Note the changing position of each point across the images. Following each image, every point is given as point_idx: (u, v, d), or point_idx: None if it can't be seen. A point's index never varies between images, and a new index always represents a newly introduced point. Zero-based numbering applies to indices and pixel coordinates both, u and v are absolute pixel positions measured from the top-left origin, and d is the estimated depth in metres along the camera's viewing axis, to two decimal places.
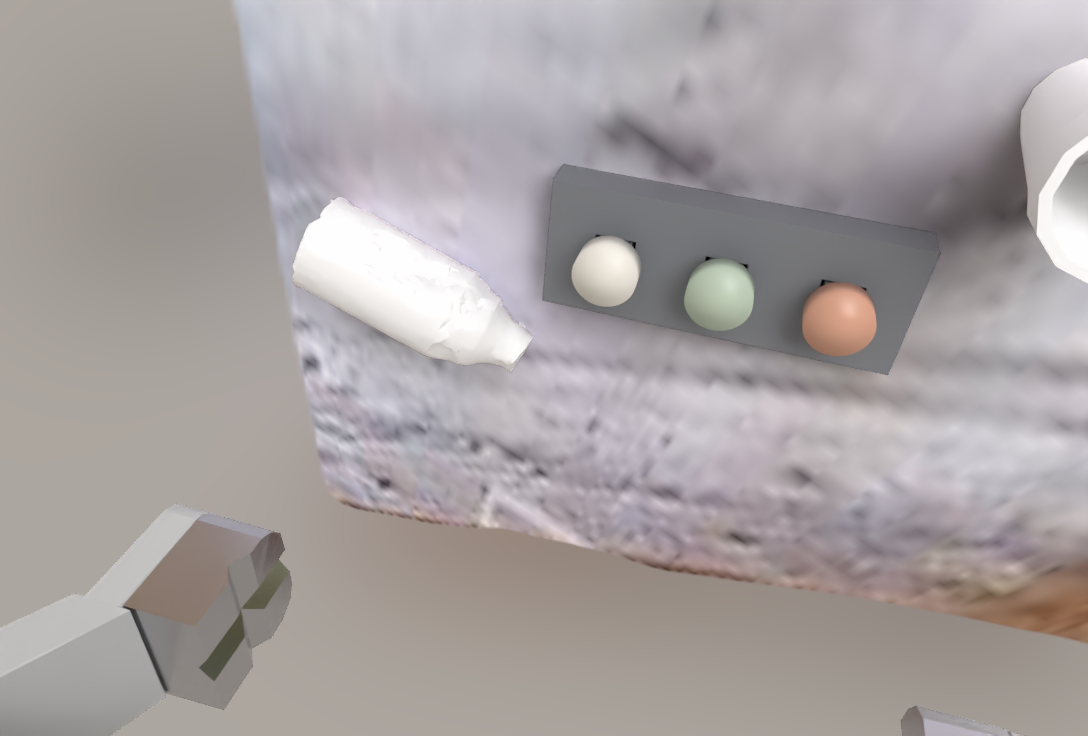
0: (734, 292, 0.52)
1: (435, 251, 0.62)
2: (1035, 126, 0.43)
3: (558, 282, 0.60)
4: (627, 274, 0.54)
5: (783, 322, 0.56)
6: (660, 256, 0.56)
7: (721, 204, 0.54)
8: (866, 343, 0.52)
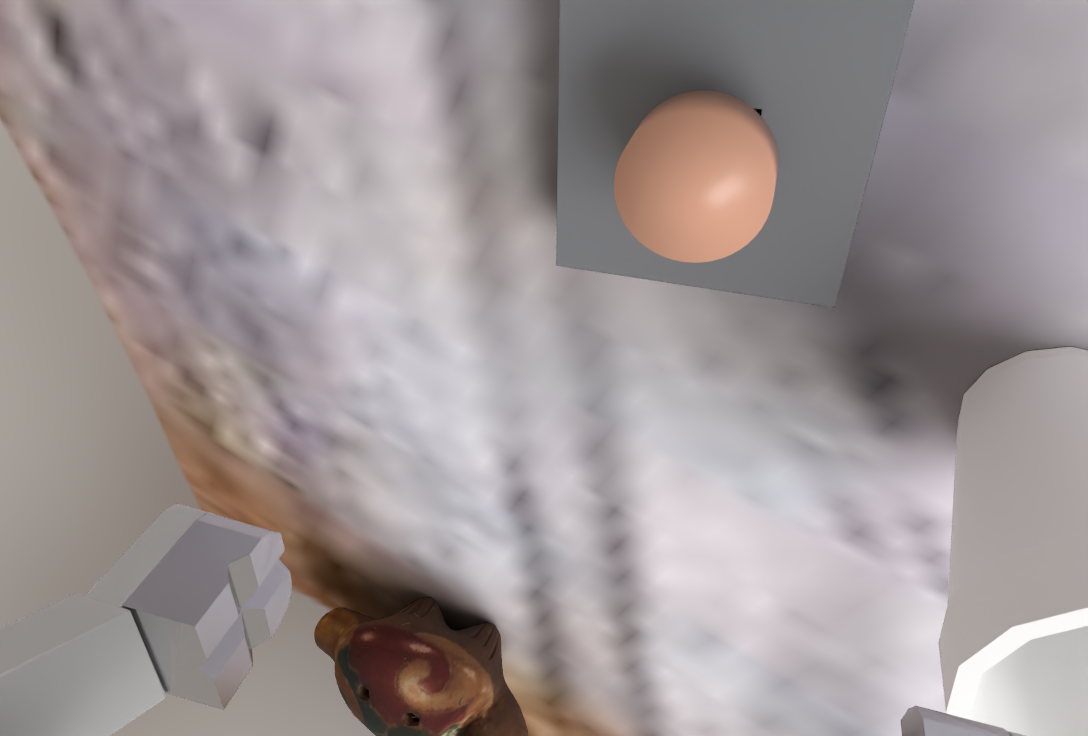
0: None
1: None
2: None
3: None
4: None
5: (638, 43, 0.24)
6: None
7: None
8: (658, 250, 0.24)
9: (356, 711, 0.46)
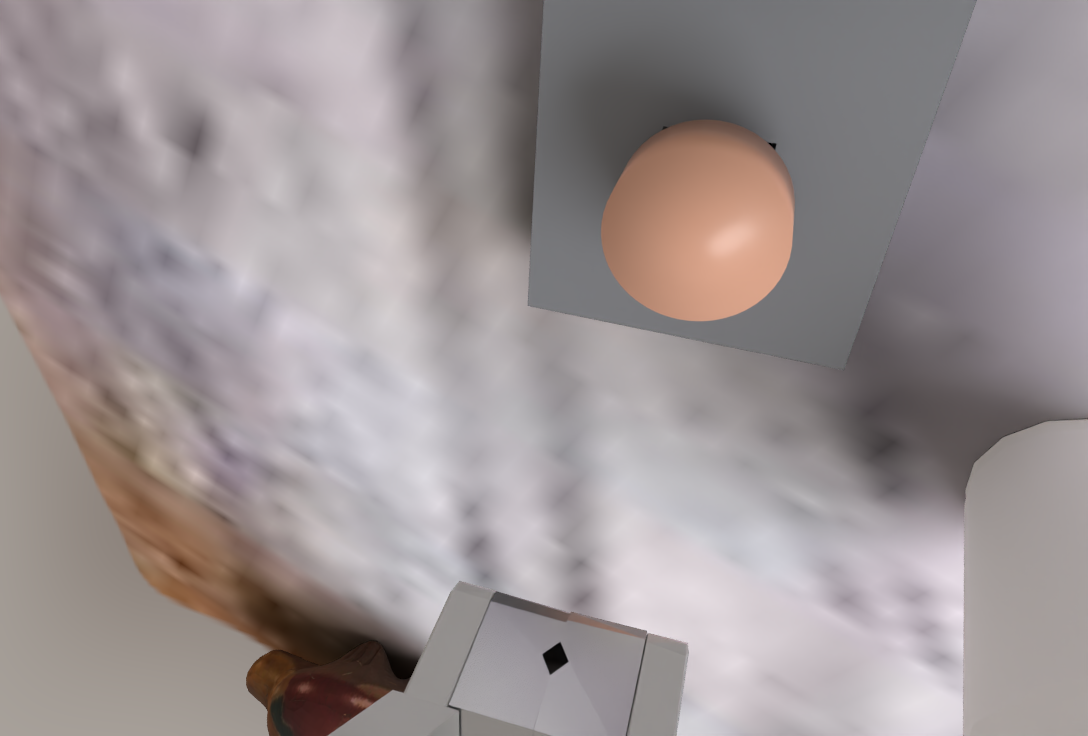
0: None
1: None
2: None
3: None
4: None
5: (635, 58, 0.20)
6: None
7: None
8: (650, 304, 0.20)
9: None
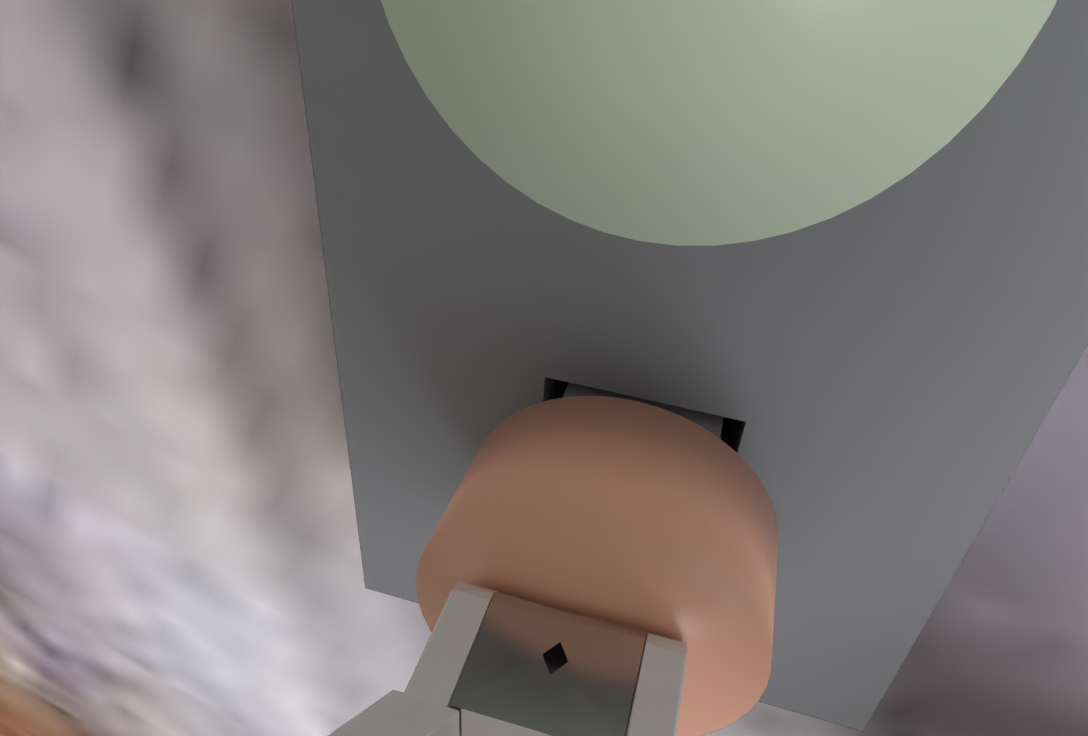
0: (807, 82, 0.05)
1: None
2: None
3: None
4: None
5: (484, 270, 0.11)
6: None
7: None
8: None
9: None
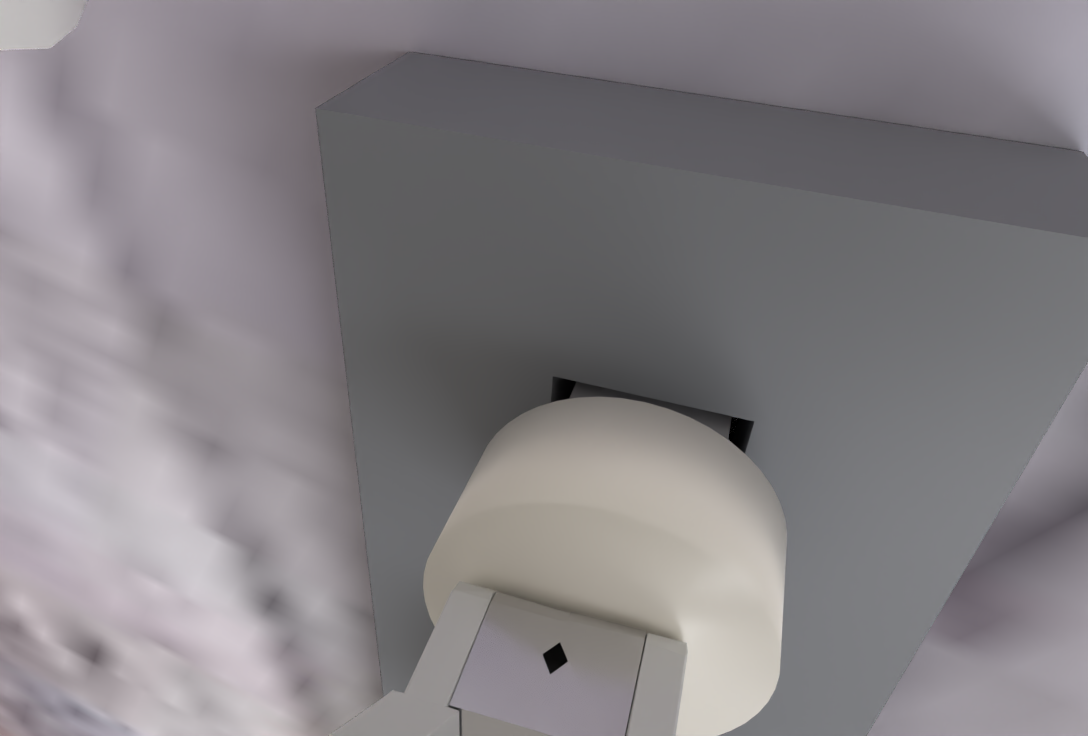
0: None
1: None
2: None
3: (449, 210, 0.11)
4: None
5: None
6: None
7: None
8: None
9: None
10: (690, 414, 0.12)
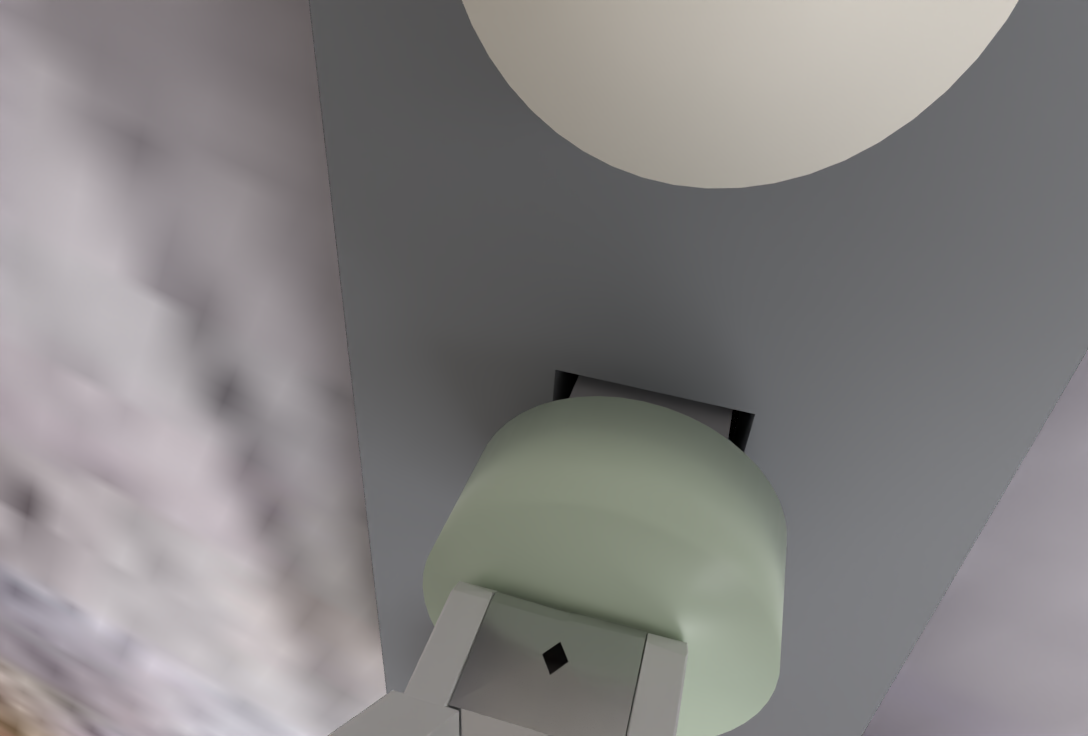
0: None
1: None
2: None
3: None
4: (764, 122, 0.07)
5: None
6: (751, 205, 0.10)
7: None
8: None
9: None
10: None
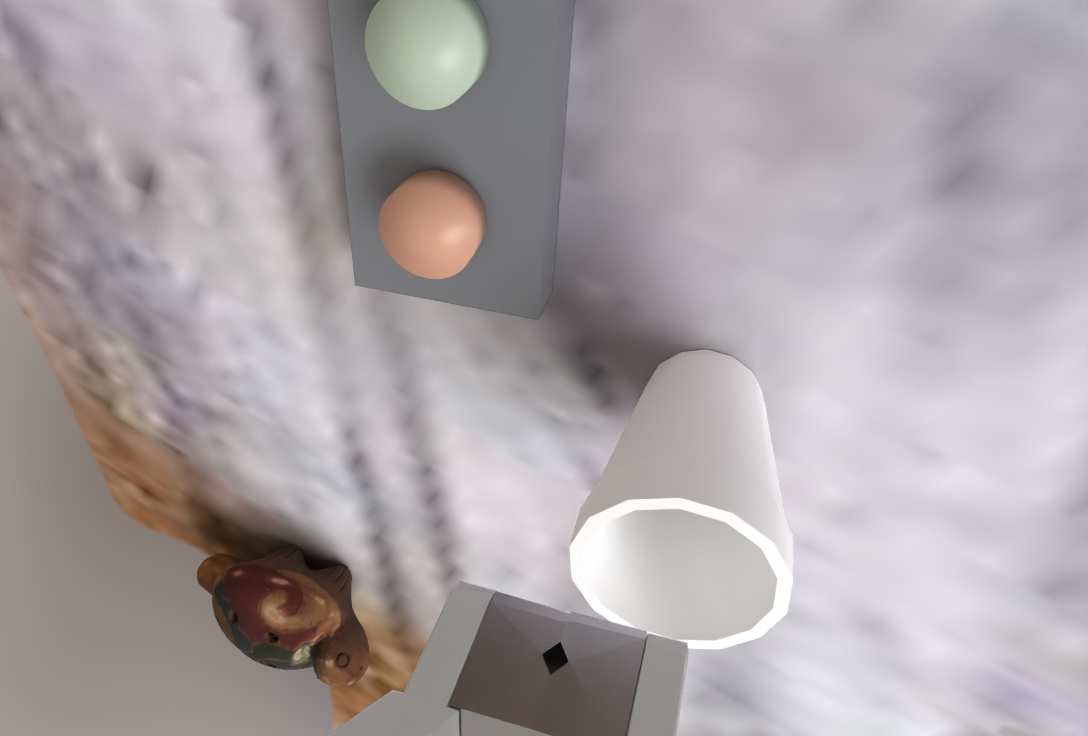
0: (443, 77, 0.31)
1: None
2: (716, 405, 0.37)
3: None
4: None
5: (391, 142, 0.36)
6: None
7: (564, 13, 0.32)
8: (411, 270, 0.37)
9: (228, 634, 0.57)
10: None
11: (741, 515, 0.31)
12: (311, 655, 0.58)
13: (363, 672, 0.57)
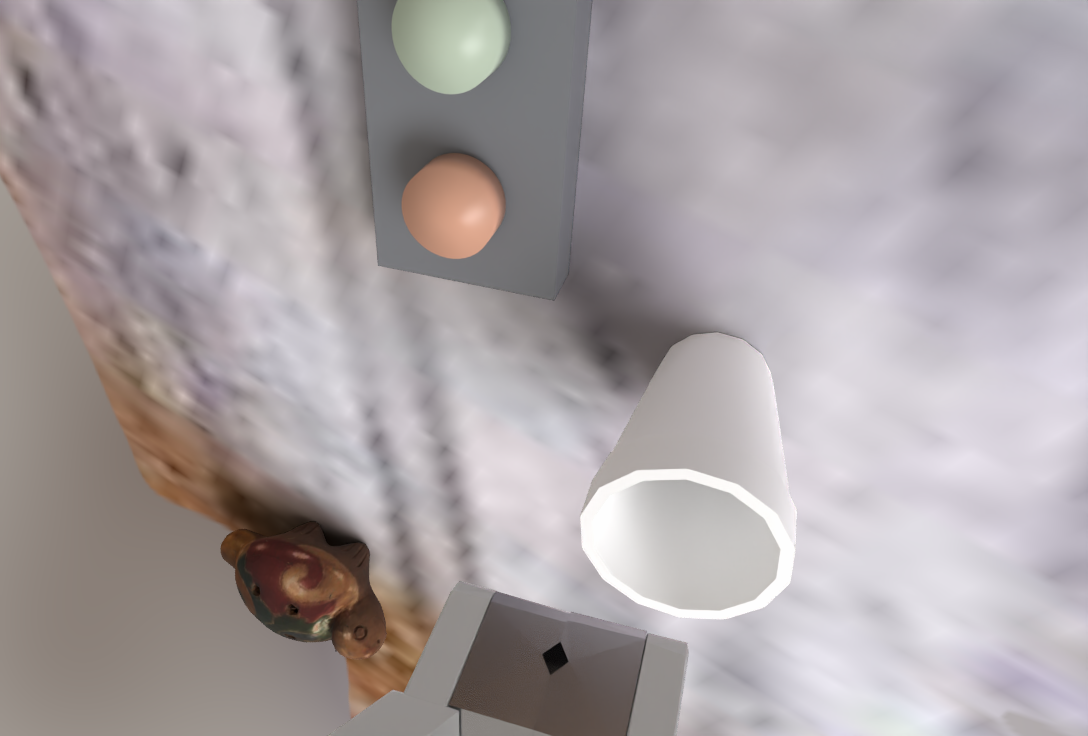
0: (465, 63, 0.33)
1: None
2: (724, 384, 0.38)
3: None
4: None
5: (414, 126, 0.38)
6: None
7: (583, 2, 0.33)
8: (432, 250, 0.38)
9: (250, 605, 0.59)
10: None
11: (746, 486, 0.32)
12: (330, 628, 0.60)
13: (380, 645, 0.59)
